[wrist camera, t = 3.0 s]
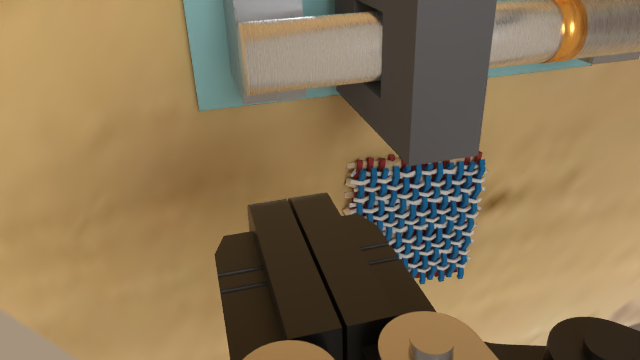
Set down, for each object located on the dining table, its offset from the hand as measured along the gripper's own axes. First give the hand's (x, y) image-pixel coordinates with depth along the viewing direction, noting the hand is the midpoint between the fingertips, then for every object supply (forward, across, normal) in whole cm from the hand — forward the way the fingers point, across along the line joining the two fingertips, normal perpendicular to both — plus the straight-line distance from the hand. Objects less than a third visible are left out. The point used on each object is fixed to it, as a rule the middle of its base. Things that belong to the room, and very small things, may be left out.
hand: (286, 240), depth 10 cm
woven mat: (+22, -13, +15) cm, 30 cm away
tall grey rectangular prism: (+19, -8, 0) cm, 20 cm away
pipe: (+22, -12, 0) cm, 25 cm away
